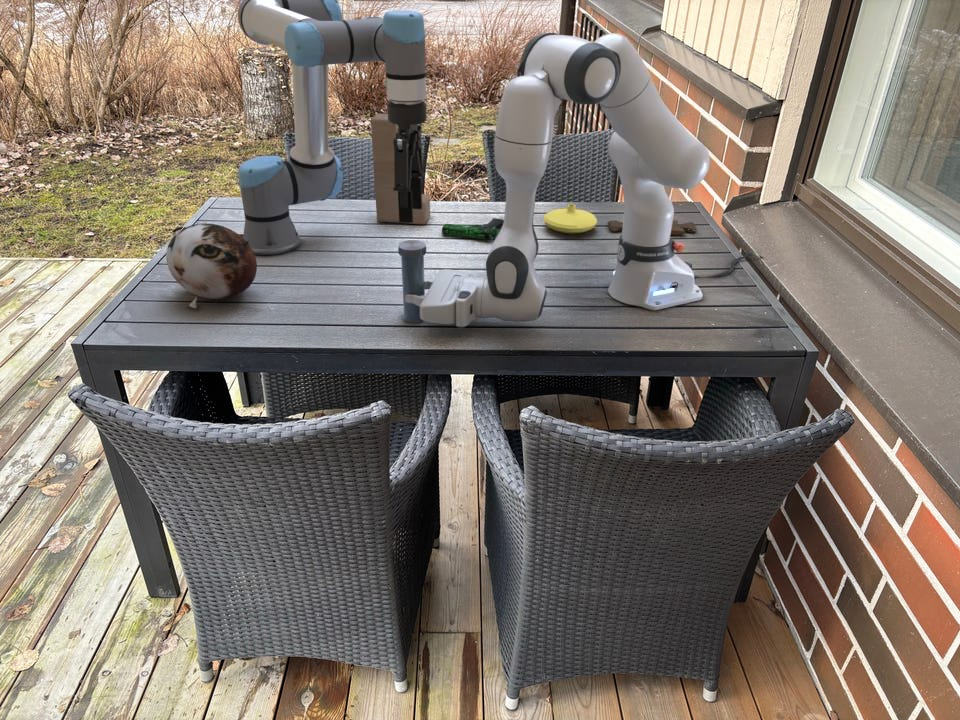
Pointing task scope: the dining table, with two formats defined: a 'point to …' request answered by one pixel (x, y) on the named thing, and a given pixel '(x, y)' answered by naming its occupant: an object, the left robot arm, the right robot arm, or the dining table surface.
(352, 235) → the dining table surface
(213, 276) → the cat face balloon
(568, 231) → the yellow knobbed disc
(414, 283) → the grey cylinder
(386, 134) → the decorative block
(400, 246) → the lid
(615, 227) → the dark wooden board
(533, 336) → the dining table surface
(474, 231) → the handgun
